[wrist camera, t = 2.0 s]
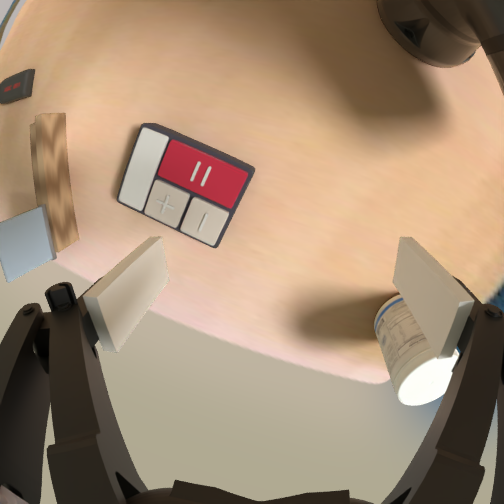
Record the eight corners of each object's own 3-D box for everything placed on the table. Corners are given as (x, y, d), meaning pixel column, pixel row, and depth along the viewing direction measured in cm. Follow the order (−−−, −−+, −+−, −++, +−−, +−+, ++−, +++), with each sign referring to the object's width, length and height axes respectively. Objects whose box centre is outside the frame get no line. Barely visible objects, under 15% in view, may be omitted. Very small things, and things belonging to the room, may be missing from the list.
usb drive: (32, 96, 32) (22, 96, 29) (1, 106, 32) (-9, 106, 30) (36, 69, 29) (26, 68, 27) (4, 82, 30) (-5, 82, 28)
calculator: (215, 252, 35) (112, 203, 33) (221, 239, 39) (127, 195, 37) (254, 172, 30) (139, 122, 29) (256, 167, 34) (153, 122, 32)
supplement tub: (431, 320, 39) (467, 381, 26) (384, 348, 42) (407, 416, 28) (415, 278, 37) (459, 340, 23) (362, 311, 40) (387, 383, 26)
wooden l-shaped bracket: (35, 124, 33) (12, 126, 28) (65, 113, 32) (41, 113, 27) (50, 238, 41) (30, 250, 36) (79, 239, 40) (58, 252, 35)
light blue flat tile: (46, 203, 32) (43, 203, 32) (-8, 225, 24) (-10, 224, 24) (58, 257, 35) (54, 256, 36) (9, 284, 27) (6, 282, 27)
